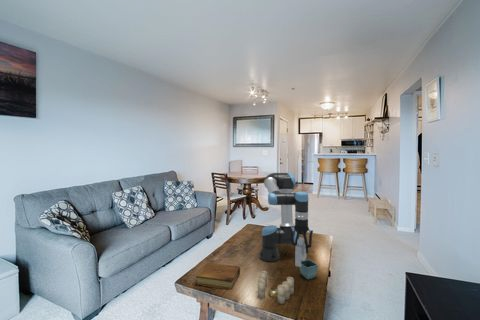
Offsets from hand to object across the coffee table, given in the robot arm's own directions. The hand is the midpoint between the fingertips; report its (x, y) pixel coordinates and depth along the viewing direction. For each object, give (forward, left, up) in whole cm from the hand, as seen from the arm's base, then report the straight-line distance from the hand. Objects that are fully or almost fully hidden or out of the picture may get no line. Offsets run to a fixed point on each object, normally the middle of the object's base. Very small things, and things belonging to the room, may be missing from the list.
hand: (301, 257), depth 138 cm
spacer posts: (+14, -12, -18) cm, 26 cm away
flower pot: (-14, +2, -18) cm, 22 cm away
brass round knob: (+14, -12, -18) cm, 26 cm away
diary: (+13, -49, -18) cm, 54 cm away
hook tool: (0, 0, -1) cm, 1 cm away
